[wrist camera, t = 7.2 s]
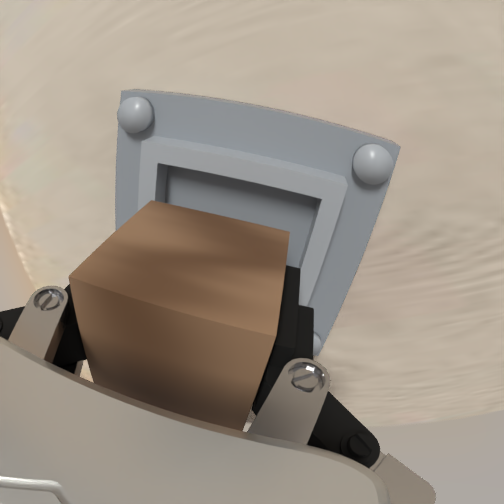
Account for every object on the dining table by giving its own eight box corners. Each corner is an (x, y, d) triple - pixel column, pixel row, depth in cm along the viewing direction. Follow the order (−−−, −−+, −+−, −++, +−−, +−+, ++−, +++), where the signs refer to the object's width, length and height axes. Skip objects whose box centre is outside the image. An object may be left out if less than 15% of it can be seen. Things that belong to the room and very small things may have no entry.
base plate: (393, 141, 13) (409, 152, 10) (318, 341, 19) (317, 371, 17) (134, 89, 13) (106, 92, 11) (128, 291, 19) (110, 315, 17)
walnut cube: (289, 231, 11) (276, 336, 7) (260, 336, 13) (239, 438, 9) (150, 199, 11) (68, 276, 7) (149, 306, 14) (97, 393, 9)
